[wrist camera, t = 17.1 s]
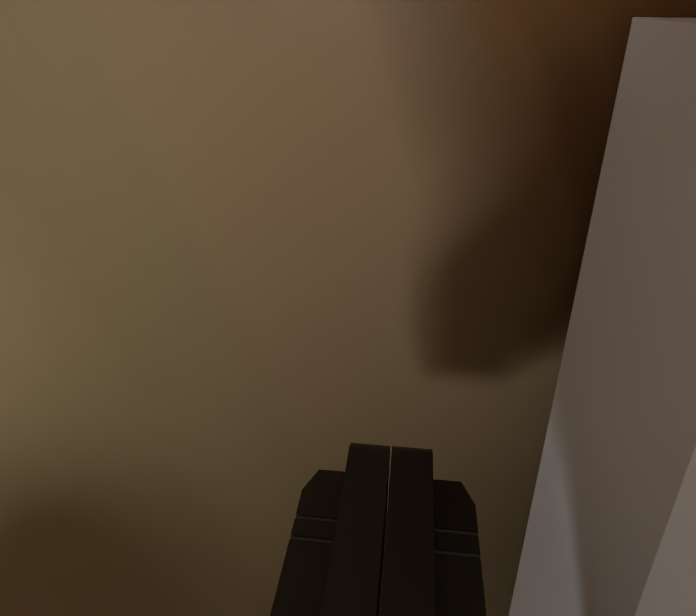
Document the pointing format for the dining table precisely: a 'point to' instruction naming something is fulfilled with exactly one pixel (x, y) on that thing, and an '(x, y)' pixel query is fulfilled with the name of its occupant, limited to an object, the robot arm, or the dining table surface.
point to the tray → (628, 366)
